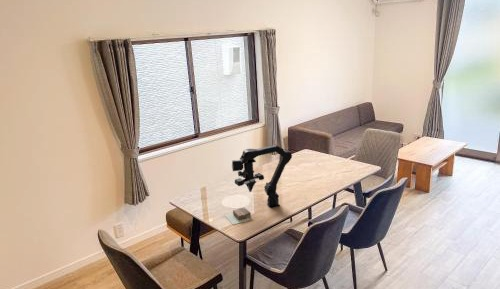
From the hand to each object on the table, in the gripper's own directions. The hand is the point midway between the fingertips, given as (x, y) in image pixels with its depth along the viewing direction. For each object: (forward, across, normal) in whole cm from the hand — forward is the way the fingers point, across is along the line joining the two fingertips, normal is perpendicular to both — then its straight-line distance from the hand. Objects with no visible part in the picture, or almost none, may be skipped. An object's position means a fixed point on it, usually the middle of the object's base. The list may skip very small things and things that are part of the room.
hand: (250, 191), depth 235 cm
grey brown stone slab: (+10, +6, +6) cm, 13 cm away
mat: (+12, +13, +6) cm, 19 cm away
